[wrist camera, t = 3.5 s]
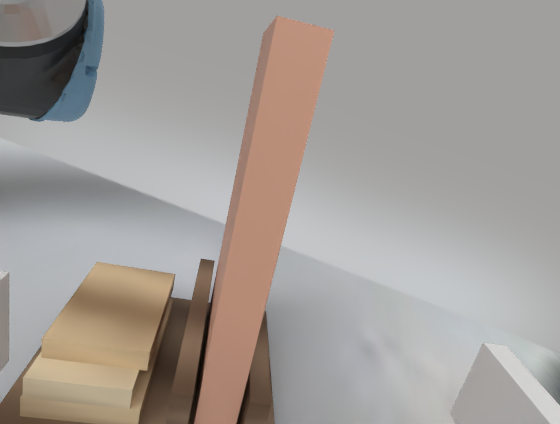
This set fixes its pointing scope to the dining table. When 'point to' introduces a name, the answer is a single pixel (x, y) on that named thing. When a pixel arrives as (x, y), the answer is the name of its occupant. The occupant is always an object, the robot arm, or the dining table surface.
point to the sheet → (259, 209)
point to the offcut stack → (101, 349)
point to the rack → (179, 369)
